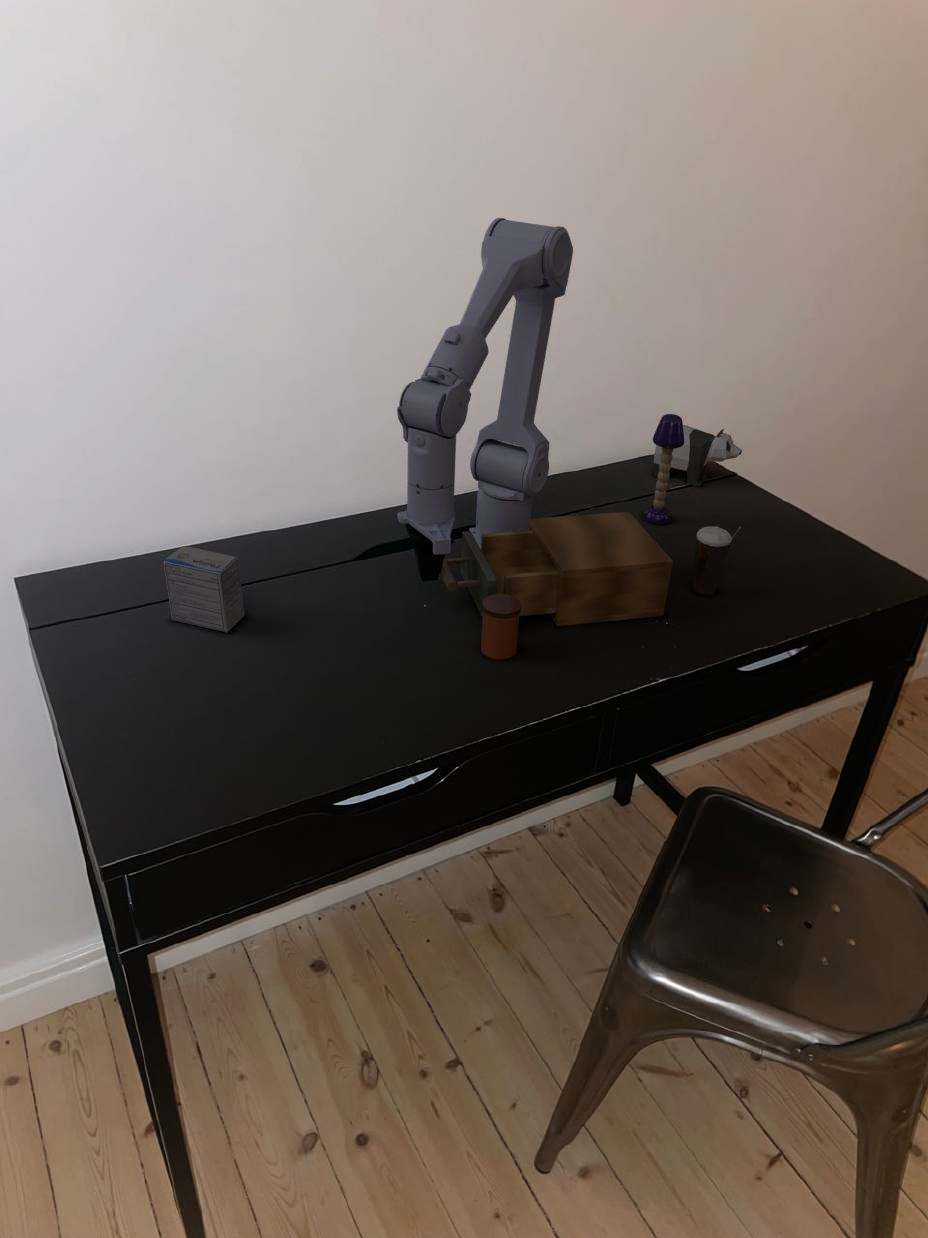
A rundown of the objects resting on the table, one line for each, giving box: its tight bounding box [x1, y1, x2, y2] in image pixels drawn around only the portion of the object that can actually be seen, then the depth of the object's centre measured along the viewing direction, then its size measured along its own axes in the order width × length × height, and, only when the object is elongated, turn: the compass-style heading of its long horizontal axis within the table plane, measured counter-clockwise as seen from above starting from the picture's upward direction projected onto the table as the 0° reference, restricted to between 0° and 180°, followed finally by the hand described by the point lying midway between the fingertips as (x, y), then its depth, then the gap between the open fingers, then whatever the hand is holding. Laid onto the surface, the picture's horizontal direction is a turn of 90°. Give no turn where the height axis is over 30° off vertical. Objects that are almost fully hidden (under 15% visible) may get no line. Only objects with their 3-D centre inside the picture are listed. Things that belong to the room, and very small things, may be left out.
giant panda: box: [653, 424, 743, 488], centre depth 160 cm, size 15×6×10 cm, turn 61°
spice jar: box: [480, 594, 521, 660], centre depth 114 cm, size 5×5×6 cm
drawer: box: [440, 530, 561, 617], centre depth 124 cm, size 18×13×6 cm
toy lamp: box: [643, 413, 684, 525], centre depth 145 cm, size 5×5×17 cm
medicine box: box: [162, 545, 245, 633], centre depth 117 cm, size 8×4×9 cm, turn 71°
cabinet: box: [527, 511, 674, 627], centre depth 127 cm, size 15×15×8 cm
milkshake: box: [691, 525, 742, 596], centre depth 128 cm, size 4×5×10 cm
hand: (428, 578), depth 123 cm, fingers closed, pressing on drawer
